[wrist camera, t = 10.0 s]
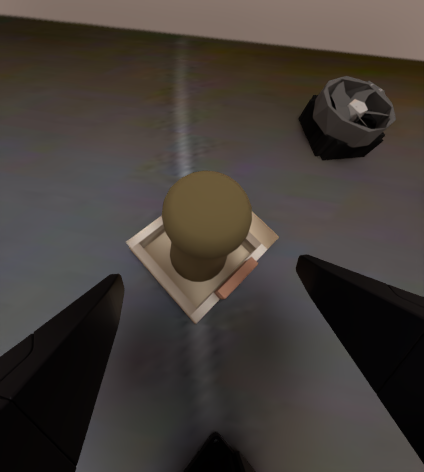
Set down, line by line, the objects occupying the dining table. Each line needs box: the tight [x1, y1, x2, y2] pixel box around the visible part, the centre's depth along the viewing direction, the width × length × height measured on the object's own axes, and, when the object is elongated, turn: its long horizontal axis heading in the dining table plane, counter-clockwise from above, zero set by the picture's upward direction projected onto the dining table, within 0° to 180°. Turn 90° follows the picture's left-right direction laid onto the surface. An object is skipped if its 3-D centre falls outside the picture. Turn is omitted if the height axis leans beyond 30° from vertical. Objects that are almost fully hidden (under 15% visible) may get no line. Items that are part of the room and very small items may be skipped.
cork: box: [162, 171, 252, 282], centre depth 15 cm, size 6×6×11 cm
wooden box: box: [126, 212, 279, 324], centre depth 19 cm, size 13×10×6 cm
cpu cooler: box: [299, 76, 396, 160], centre depth 27 cm, size 10×6×10 cm
